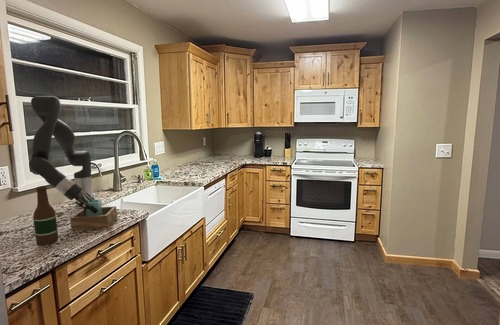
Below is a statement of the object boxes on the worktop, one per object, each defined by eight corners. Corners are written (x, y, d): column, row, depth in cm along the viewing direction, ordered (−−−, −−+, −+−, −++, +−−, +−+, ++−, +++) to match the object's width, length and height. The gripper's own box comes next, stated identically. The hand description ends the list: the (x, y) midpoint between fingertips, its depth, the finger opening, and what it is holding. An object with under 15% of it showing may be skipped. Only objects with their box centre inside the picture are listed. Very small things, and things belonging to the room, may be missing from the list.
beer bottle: (62, 238, 126) (56, 184, 123) (51, 245, 119) (44, 188, 115) (44, 238, 126) (38, 184, 123) (31, 246, 118) (24, 189, 115)
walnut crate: (84, 219, 151) (83, 208, 151) (116, 217, 154) (116, 206, 153) (71, 230, 136) (70, 218, 135) (107, 227, 138) (106, 215, 138)
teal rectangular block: (90, 217, 147) (88, 200, 145) (102, 216, 148) (101, 199, 147) (87, 221, 141) (85, 203, 140) (99, 220, 143) (98, 202, 141)
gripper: (69, 185, 133) (100, 208, 138) (79, 180, 147) (106, 201, 152) (57, 198, 133) (89, 220, 137) (68, 191, 146) (96, 211, 151)
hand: (98, 210), depth 144 cm, fingers closed on teal rectangular block, 5 cm apart
